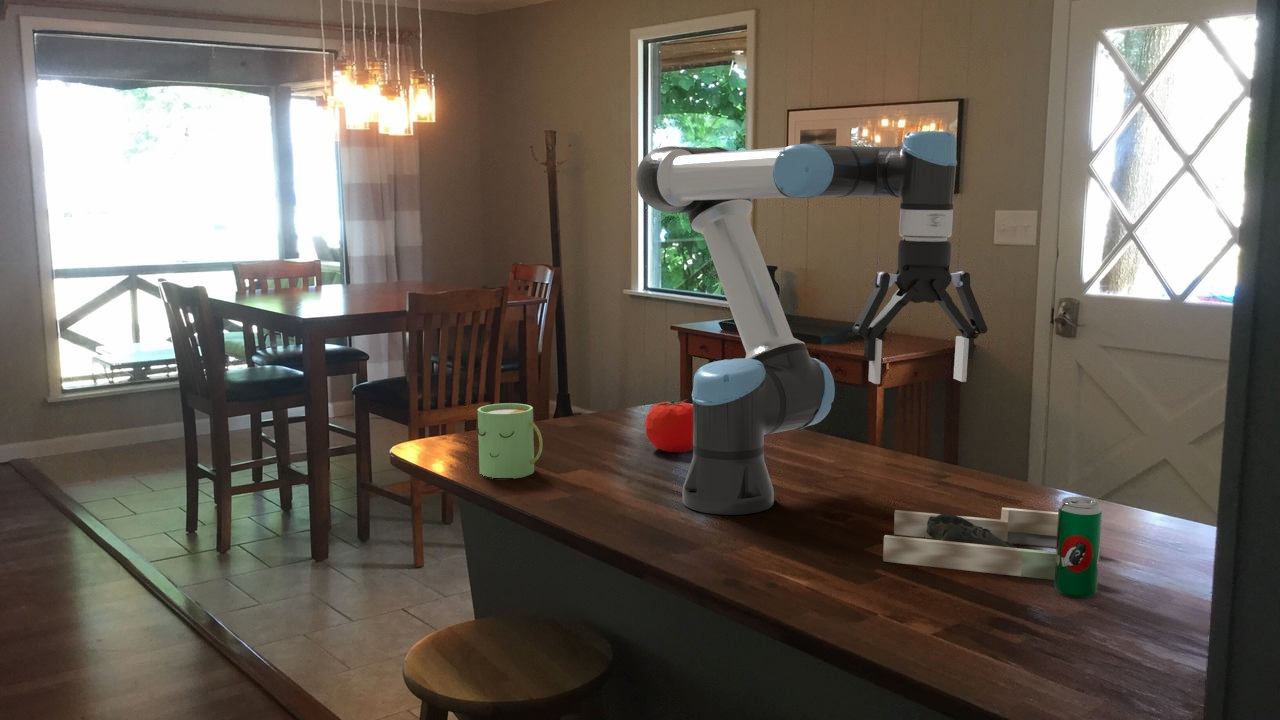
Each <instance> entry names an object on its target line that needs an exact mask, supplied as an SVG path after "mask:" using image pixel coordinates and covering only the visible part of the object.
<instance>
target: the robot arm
mask: <svg viewBox="0 0 1280 720" xmlns="http://www.w3.org/2000/svg"><path fill="white" fill-rule="evenodd" d="M902 142H903V143H902V145H900V146H899V145H898V146H864V145H863V146H861V145H859V146H858V145H831V144H830V145H825V144H814V143H797V144H790V145H788V146H784V147H783V146H782V147H769V148H758V149H757V148H756V149H745V150H735V149H731V148H725V147H720V146H712V147H694V146H675V145H674V146H672V145H671V146H662V147H658V148H656V149H654V150H652V151H650V152H649V153H648V154H646V155H645V156H644V157H643V158H642V160H641V161H640V162H639V164H638V167H637V169H636V175H635V185H636V189H637V191H638V194H639V195H640V197H641V199H642V200H643V202H645V204H646V205H648V206H650V207H651V208H652V209H654V210H656V211H658V212H659V211H660V212H663V213H670V214H671V213H672V214H673V213H675V214H677V213H678V214H679V213H680V214H681V213H682V214H683V213H685V214H686V216H687V218H688V221H689V223H690V226H691V229H692V231H694V232H696V233H699V234H702V235H703V238H704V240H705V243H706V247H707V249H708V252H709V254H710V258H711V260H712V262H713V265H714V267H715V270H716V274H717V276H718V279H719V281H720V285H721V288H722V290H723V293H724V296H725V299H726V301H727V304H728V306H729V310H730V312H731V315H732V318H733V320H734V323H735V326H736V328H737V331H738V334H739V337H740V339H741V343H742V345H743V348H744V350H745V358H742V357H741V358H740V357H739V358H733V359H732V358H731V359H727V358H726V359H723V360H722V359H720V360H717V361H712V362H709V363H707V364H704V365H702V366H701V367H699V368H698V369H697V370H696V371H695V373H694V377H693V386H692V387H693V388H692V392H691V399H692V405H693V449H692V458H691V462H690V463H689V464H690V465H689V468H688V471H687V475H686V477H685V479H684V480H685V481H684V483H683V487H682V492H681V493H682V504H683V505H684V506H685V507H687V508H689V509H690V510H693V511H696V512H700V513H705V514H711V515H725V516H728V515H729V516H734V515H735V516H737V515H741V516H742V515H749V514H756V513H760V512H763V511H765V510H769V509H770V508H772V506H773V505H774V503H775V502H774V500H775V497H774V496H775V492H774V487H773V483H772V480H771V477H770V475H769V472H768V471H769V470H768V467H767V464H766V462H765V457H764V455H765V454H764V448H765V447H764V446H765V445H764V439H765V437H764V435H771V434H775V433H776V434H777V433H781V432H786V431H792V430H802V429H805V428H807V427H809V426H813V425H817V424H818V423H820V422H822V420H824V419H825V418H826V417H827V416H828V415H829V413H830V411H831V409H832V403H834V399H835V394H836V393H835V392H836V391H835V389H836V388H835V380H834V377H833V374H832V372H831V370H830V369H829V366H827V365H826V363H825V362H822V361H821V360H819V359H817V358H815V357H814V358H813V357H811V355H810V354H809V351H808V348H807V345H806V343H805V341H801V340H799V339H798V338H795V337H794V335H793V333H792V331H791V327H790V325H789V323H788V321H787V318H786V315H785V311H784V310H783V307H782V304H781V302H780V299H779V296H778V293H777V290H776V289H775V288H776V287H775V286H774V283H773V280H772V277H771V275H770V272H769V270H768V266H767V264H766V262H765V260H764V257H763V254H762V252H761V248H760V246H759V243H758V241H757V237H756V235H755V233H754V230H753V228H752V225H751V222H750V219H749V216H750V214H751V212H752V211H753V208H754V207H753V206H754V205H753V203H752V201H753V200H754V199H756V200H757V199H779V198H780V199H782V198H783V199H786V198H793V199H795V198H796V199H809V198H836V197H837V198H900V200H899V201H900V206H899V207H900V208H899V211H900V212H899V226H898V235H899V236H900V237H902V239H900V240H899V241H898V244H897V245H898V248H897V249H898V250H897V269H896V273H894V274H893V273H888V272H885V271H880V270H879V271H877V272H876V275H875V279H874V280H875V281H874V286H873V288H872V289H871V292H870V294H869V296H868V298H867V299H866V302H865V303H864V305H863V307H862V309H861V311H860V313H859V315H858V316H857V318H856V321H855V323H854V324H853V327H852V329H851V330H852V332H853V333H854V334H856V335H858V336H861V337H863V339H864V341H863V342H864V344H863V345H864V346H863V358H864V360H866V361H867V362H868V382H871V383H872V384H873V385H874V384H875V385H881V373H882V372H881V371H882V352H883V350H882V349H883V340H882V339H879V338H878V337H879V336H880V334H881V333H883V331H884V330H886V328H887V326H889V324H890V323H891V322H892V321H893V319H894V318H895V317H896V316H897V315H898V314H899V312H900V311H901V310H902V309H903V308H904V307H905V306H907V305H908V304H909V303H910V302H911V303H914V304H920V303H923V302H926V303H929V304H930V303H931V304H932V303H935V302H936V303H937V304H938V305H939V307H940V308H941V309H942V310H943V311H944V313H945V314H946V316H947V317H948V318H949V320H950V321H951V322H952V324H953V325H954V326H955V328H956V329H957V330H958V331H959V333H960V334H961V335H957V336H955V344H954V345H955V348H954V350H955V351H954V362H953V364H954V365H953V378H952V379H954V380H956V381H959V382H961V383H966V382H967V376H968V362H969V361H968V360H970V359H971V360H972V358H973V356H974V346H975V345H974V343H975V340H976V339H977V338H978V337H979V335H981V334H986V333H987V332H988V326H987V325H986V324H987V323H986V321H985V319H984V316H983V314H982V312H981V309H980V306H979V305H978V302H977V300H976V298H975V294H974V293H973V290H972V287H971V275H970V272H967V271H962V270H957V271H956V272H953V273H951V272H950V265H951V259H952V258H951V256H952V243H951V241H949V240H948V238H950V237H951V236H952V235H953V220H954V193H955V181H956V173H957V165H958V160H957V138H956V136H955V134H953V132H949V131H938V130H937V131H936V130H929V131H928V130H925V131H924V130H923V131H918V130H917V131H909V132H906V133H905V134H904V136H903V141H902ZM893 284H895V285H896V286H897V288H898V289H897V290H896V291H895V293H894V294H893V295H892V296H891V299H890V300H889V302H888V303H886V305H885V306H884V307H883V309H882V310H881V311H880V312H879V314H878V315H877V316H876V314H877V313H878V310H879V309H880V307H881V304H882V302H883V301H884V299H885V297H886V296H887V292H888V289H890V288H892V286H893ZM950 284H952V286H953V287H955V289H956V292H957V295H958V298H959V300H960V303H961V305H962V306H963V309H964V313H965V314H966V317H967V318H966V317H965V315H964V314H963V313H962V311H960V309H959V308H958V307H957V306H956V303H955V302H954V301H953V298H952V296H951V295H950V294H949V292H947V290H946V289H947V288H948V287H949V285H950Z"/></svg>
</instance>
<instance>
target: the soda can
mask: <svg viewBox="0 0 1280 720" xmlns="http://www.w3.org/2000/svg"><path fill="white" fill-rule="evenodd" d="M1057 512H1058V524H1057V542H1056V548H1055V552H1056V561H1055V579H1054V580H1053V581H1054V583H1053V586H1054V589H1055V590H1056V591H1057V592H1058V593H1059V594H1060V595H1062V596H1064V597H1068V598H1072V599H1088V598H1092V597H1093V596H1094V595H1096V593H1097V592H1098V582H1099V567H1100V566H1099V565H1100V552H1101V550H1100V549H1101V535H1102V533H1101V532H1102V516H1103V513H1102V510H1101V507H1100V503H1099V501H1097V500H1095V499H1092V498H1088V497H1081V496H1068V497H1063V498H1062V499H1061V504H1060V505H1059V506H1058V507H1057Z"/></svg>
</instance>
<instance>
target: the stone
mask: <svg viewBox="0 0 1280 720" xmlns="http://www.w3.org/2000/svg"><path fill="white" fill-rule="evenodd" d="M939 514H940V515H938V516H936V517H932V516H930V517H929V520H928V522H927V530H926V533H928V534H929V535H930V536H931V537H933V538H932V539H933V540H940V541H950V542H960V543H970V544H980V545H990V546H1000V547H1010V548H1017V547H1016V546H1015V544H1011V543H1010V542H1008V541H1003V540H1001V539H1000V538H998V537H996V536H995V535H993V534H992V533H991V532H990V530H988V529H983V528H982V527H979V526H975V525H973V524H972V523H971V522H969V521H967V520H965V519H963V518H962V517H958V516H959V515H955V514H950V513H949V514H948V513H946V514H945V513H939Z"/></svg>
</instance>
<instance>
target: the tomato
mask: <svg viewBox="0 0 1280 720" xmlns="http://www.w3.org/2000/svg"><path fill="white" fill-rule="evenodd" d="M687 400H688V398H687V399H683V400H681V401H676V402H675V400H670V401H662V402H659V403H658V404H656V405H655V404H654V405H653V406H652V407H651V409H650V411H648V413H647V415H646V419H645V422H644V426H645V435H646V437H647V439H648V441H649V442H650V444H651V445H652V446H653V447H655V448H656V449H658V450H661V451H664V452H667V453H685V452H688V451H691V450H693V404H690V403H687V402H685V401H687Z"/></svg>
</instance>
